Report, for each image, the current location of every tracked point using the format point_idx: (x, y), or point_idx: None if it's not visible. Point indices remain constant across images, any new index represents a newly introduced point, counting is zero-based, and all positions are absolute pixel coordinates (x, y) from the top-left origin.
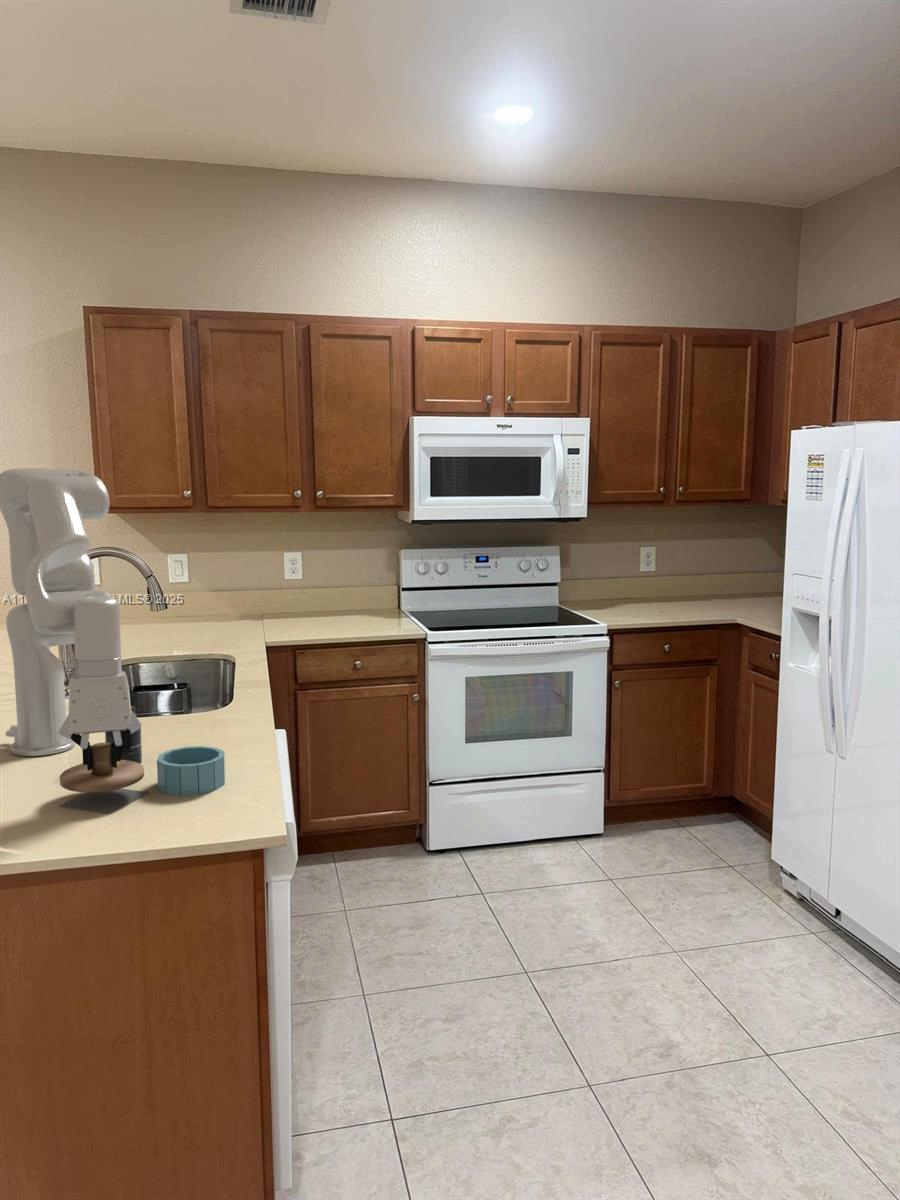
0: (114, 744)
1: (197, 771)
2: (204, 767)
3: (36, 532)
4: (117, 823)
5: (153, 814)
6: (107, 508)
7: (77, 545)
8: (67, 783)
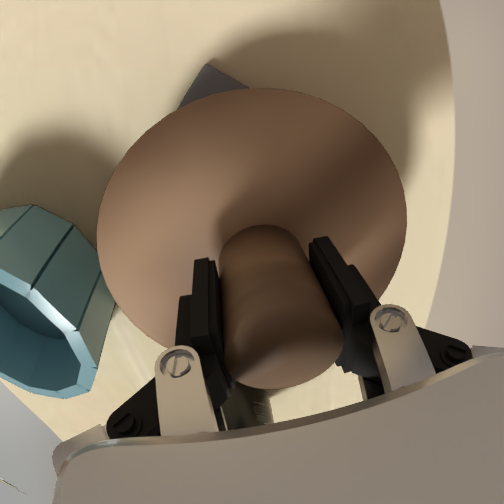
0: (207, 360)
1: None
2: None
3: None
4: (173, 8)
5: (72, 76)
6: None
7: None
8: (387, 160)
